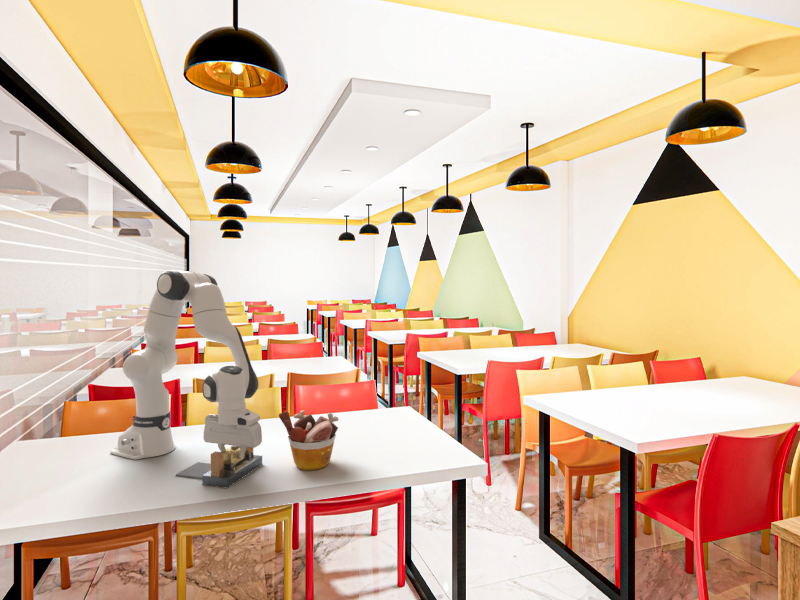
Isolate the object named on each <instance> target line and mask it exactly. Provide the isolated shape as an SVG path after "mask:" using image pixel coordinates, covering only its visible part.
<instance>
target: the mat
mask: <svg viewBox="0 0 800 600" xmlns="http://www.w3.org/2000/svg"><path fill="white" fill-rule="evenodd" d="M209 471H211V462H209V463H207V462H198V461H197V462H196V463H194V464H192V465H190V466H188V467H186V468H185V469H183V470H181V471H178V472H177V473H175V477H180V478H187V479H188V478H189V479H196V480H202V475H204V474H205V473H207V472H209Z"/></svg>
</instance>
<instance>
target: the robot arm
mask: <svg viewBox="0 0 800 600" xmlns="http://www.w3.org/2000/svg"><path fill="white" fill-rule="evenodd" d="M186 303H190V305H191V309H192V310H191V311H192V319H193V326H194V328H195V331H196V332H197V333H198V334H199V335H200V336H201V337H203V338H205V339H206V340H209V341H213V342H215V343H220V344H223V345H225V346H226V347H227V348H228V349H229V350H230V352H231V355H232V358H233V361H234V364H235V365H226V366H222V367H220V368H219V370H218V372H216V373H213V374H210V375H209V374H208V376H206V377H205V379H204V380H203V382H202V395H203V396H202V397H204V399H205V400H207V401H209V402H210V403H218V405H217V414H213V413H210V414H208V415H206V416H205V418H204V427H203V428H204V429H203V441H204V442H205V443H207V444H208V443H209V444H217V447H218V449H219V452H222V451H223V450H225V449H226V447H225V446H233V445H234V446H239V449H241V451H240V452H239V453H237V459H242V458H243V457H244V452H245V450H246V448H247V447H252V448H253V449H254V448H257V447H259V446H260V445H261V444H262V443H263V442H262V441H263V434H262V426H261V424H260V423H259V421H260V420H261V418H260V417H261V415H260V414H258V413H256V412H254V411H252V410H250V409H249V408H247V404H246V402H245V401H246V400H245V399H251V398H252V397H253V396H254V395H255V394H256V392H257V391H258V389H259V380H258V376H257V374H256V371H255V370H254V368H253V366H252V363H251V360H250V357H249V355H248V351H247V348H246V346H245V342H244V340H243V337H242V335H241V332H240V330H239V328H238V327H236V326H235V325H233V324H232V322H231V321H230V319H229V317H228V314H227V310H226V309H227V308H226V305H225V304H226V303H225V301H224V297H223V294H222V291H221V288H220V287H219V286H218V282H217V280H216V279H215V278H214V277H213V276H211V275H210V274H209V275H208V274H207V273H206V274H205V273H200V272H196V271H189V270H188V271H187V270H186V271H185V270H177V269H168V270H165V271H162V272H161V273H160V275H159V276H158V278H157V281H156V290H155V292H154V293H153V297H152V299H151V302H150V303H149V308H148V311H147V315H146V319H145V323H144V326H143V332H144V333H145V335H146V343H145V347H144V349H141V350H137V351H134V352H133V353H131V354H130V355H129V356H127V357H126V359H125V360H124V362H123V364H122V370H123V371H122V372H123V373H124V375H125V377H126V378H127V379H129V380H130V383H131V384H132V387H133V390H134V395H135V407H136V408H135V410H136V414H135V415H134V416H131V417H130V421H132V425H131V426H128V428H127V429H126V430H124V431H123V432H122V433H121V434H119V436H118V439H117V446H115V447H113V448H111V450H110V455H115V456H117V457H118V456H119V457H123V458H127V459H131V460H140V459H145V458H146V459H147V458H152V457H158V456H162V455H166V454H169V453H170V452H173V451H174V450H175V449H176V446H175V444H174V439H173V434H172V427H171V423H172V414H171V411H170V392H169V390H168V389H167V388H166V387H165V384H164V382H163V374H167V373H168V372H170V371H171V370H172V369H173V368H174V367H175V366H176V365H177V362H178V360H179V359H178V353H177V351H176V337H177V331H178V328H179V324H180V320H181V317H182V312H183V309H184V308H183V307H184V305H185V304H186Z"/></svg>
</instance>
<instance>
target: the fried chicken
mask: <svg viewBox="0 0 800 600" xmlns="http://www.w3.org/2000/svg"><path fill="white" fill-rule="evenodd" d="M305 413H306V411H305V409H304V410H300V412H299V413H295V414H294V415H293V418H294V419H298V420H296V421H295V422H294V424H292V420H291V419H292V418H291V416H290V413H289V412H288V411H287V410H284V411H283V412H280V413H279V414H278V417H279V419H280V421H281V422H282V424H283V425H284V427H285V428H286V431H287V434H288V436H287V439H288V442H289V445H290V450H291V455H292V458H293V463H294V464H295V466H296V467H297V468H298V469H299V470H302V469H303V471H308V470H309V471H318V470H320V469H321V470H322V469H324V468H325V467H326V466H327V465H328V464H329V463H330V462H331V458H332V453H333V449H334V444H335V439H336V436H337V434H336V433H337V431H338V429H339V427H338V426H337V425H336V424H335V423H334V422H339V418H338V416H337V415H336V416H334V415H333V413H332V412H328V413H327V417H328V418H327V417H324V416H322V415H321V416H319V417H318V418H317V419H315V418H314V417H313V415H312V414H311V413H309V414H306V415H305ZM293 426H294V427H293Z"/></svg>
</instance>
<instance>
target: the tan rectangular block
mask: <svg viewBox="0 0 800 600" xmlns="http://www.w3.org/2000/svg"><path fill="white" fill-rule="evenodd" d="M240 451H241V449H239V446H234V445H230V446H229V447H227V448H225V450H223V451H222V452H224V462H228V463H234V465H235V464H236V463H238V462H240V461H241V460H243V459H245V452H244V457H243V458H242V459H237V453H239V452H240Z"/></svg>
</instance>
